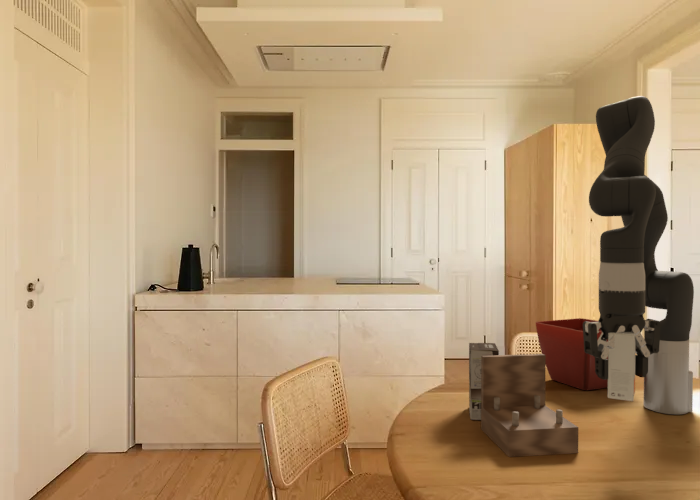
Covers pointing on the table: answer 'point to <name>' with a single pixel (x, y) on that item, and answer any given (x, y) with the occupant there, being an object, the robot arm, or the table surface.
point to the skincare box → (622, 367)
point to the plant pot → (568, 353)
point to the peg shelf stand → (522, 408)
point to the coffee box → (477, 375)
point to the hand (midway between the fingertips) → (621, 377)
